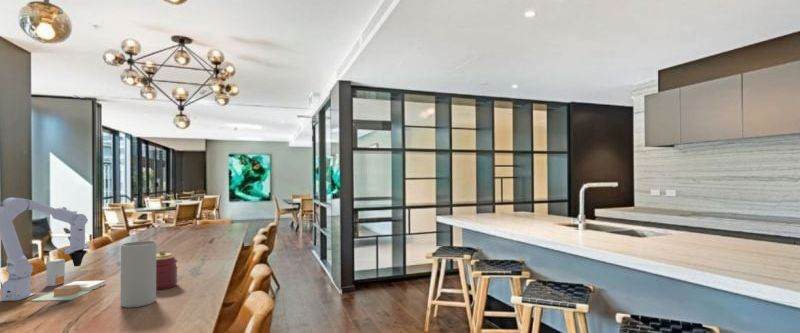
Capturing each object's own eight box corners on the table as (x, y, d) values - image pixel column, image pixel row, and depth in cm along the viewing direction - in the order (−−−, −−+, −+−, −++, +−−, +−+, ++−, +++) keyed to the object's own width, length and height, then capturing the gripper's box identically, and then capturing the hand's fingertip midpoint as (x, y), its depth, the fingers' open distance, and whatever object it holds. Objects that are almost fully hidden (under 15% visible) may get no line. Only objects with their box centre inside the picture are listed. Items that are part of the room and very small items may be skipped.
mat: (70, 300, 174) (70, 299, 174) (30, 301, 173) (30, 300, 173) (91, 291, 187) (91, 290, 187) (54, 292, 186) (54, 291, 186)
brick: (71, 295, 180) (71, 288, 180) (53, 296, 179) (53, 289, 179) (79, 291, 186) (79, 284, 186) (62, 292, 185) (62, 285, 185)
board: (88, 291, 187) (88, 287, 187) (56, 292, 186) (56, 288, 186) (105, 284, 199) (105, 280, 199) (75, 285, 198) (75, 281, 198)
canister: (183, 283, 201) (183, 247, 201) (165, 290, 188) (165, 252, 188) (158, 282, 202) (158, 247, 202) (139, 290, 189) (139, 252, 189)
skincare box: (54, 286, 197) (54, 261, 197) (45, 286, 197) (46, 261, 197) (65, 282, 203) (65, 258, 203) (56, 282, 203) (56, 258, 203)
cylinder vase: (138, 309, 162) (139, 246, 162) (112, 307, 164) (113, 245, 165) (163, 299, 174) (163, 241, 174) (138, 298, 176) (138, 240, 177)
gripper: (75, 240, 192) (75, 269, 191) (96, 235, 206) (95, 262, 206) (59, 240, 191) (59, 269, 191) (81, 236, 205) (81, 263, 205)
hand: (77, 266), depth 198 cm, fingers closed
